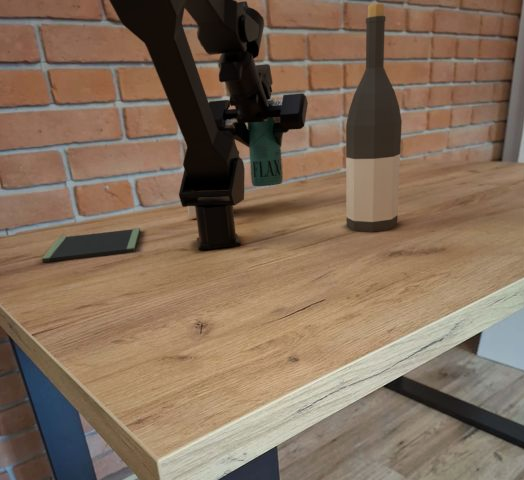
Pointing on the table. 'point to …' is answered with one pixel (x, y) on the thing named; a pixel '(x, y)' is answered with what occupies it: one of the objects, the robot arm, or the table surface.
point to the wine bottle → (373, 139)
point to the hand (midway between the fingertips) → (266, 145)
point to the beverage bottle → (264, 153)
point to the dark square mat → (93, 245)
